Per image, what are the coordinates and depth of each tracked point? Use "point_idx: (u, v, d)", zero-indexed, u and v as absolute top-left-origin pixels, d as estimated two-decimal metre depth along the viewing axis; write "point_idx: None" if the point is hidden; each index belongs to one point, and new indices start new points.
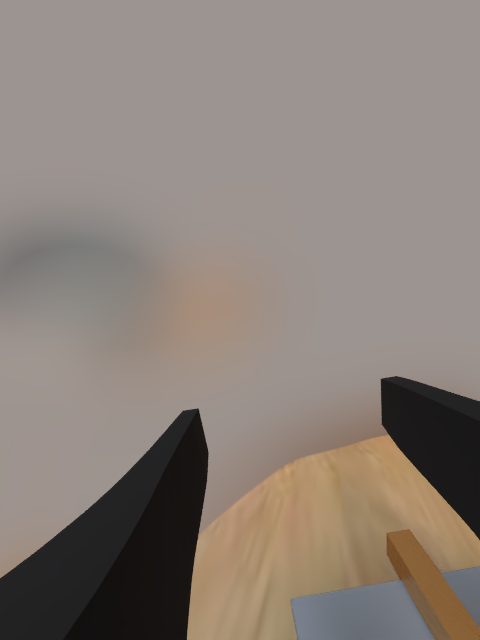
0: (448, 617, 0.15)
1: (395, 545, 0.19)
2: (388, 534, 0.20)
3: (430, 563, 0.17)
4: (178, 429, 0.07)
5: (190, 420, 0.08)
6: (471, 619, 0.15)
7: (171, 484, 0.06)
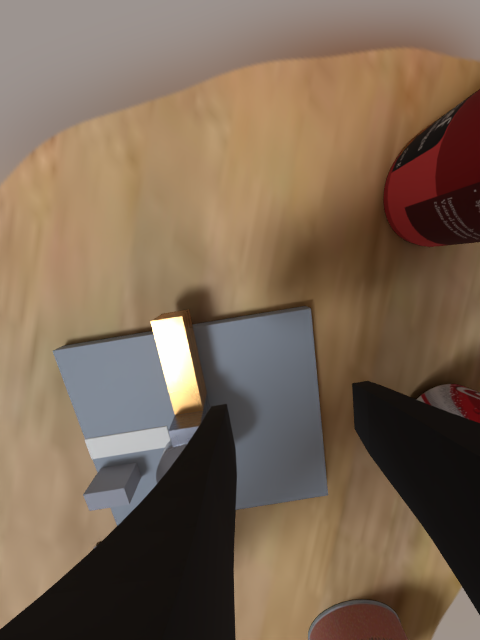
0: (177, 390, 0.16)
1: (155, 334, 0.15)
2: (152, 322, 0.14)
3: (186, 351, 0.15)
4: (213, 423, 0.07)
5: (223, 415, 0.08)
6: (197, 390, 0.16)
7: (215, 477, 0.06)
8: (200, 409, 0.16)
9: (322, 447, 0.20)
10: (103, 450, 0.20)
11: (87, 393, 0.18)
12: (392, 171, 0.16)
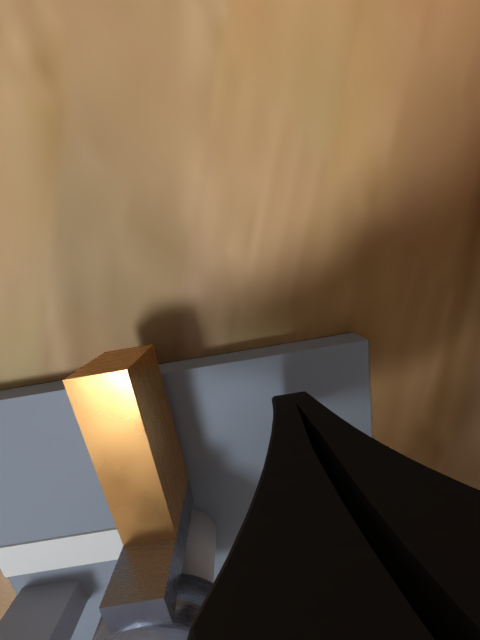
0: (126, 505, 0.08)
1: (75, 405, 0.07)
2: (66, 382, 0.07)
3: (139, 436, 0.07)
4: (289, 411, 0.07)
5: (294, 403, 0.08)
6: (163, 504, 0.08)
7: None
8: (171, 534, 0.08)
9: None
10: (22, 565, 0.12)
11: None
12: None
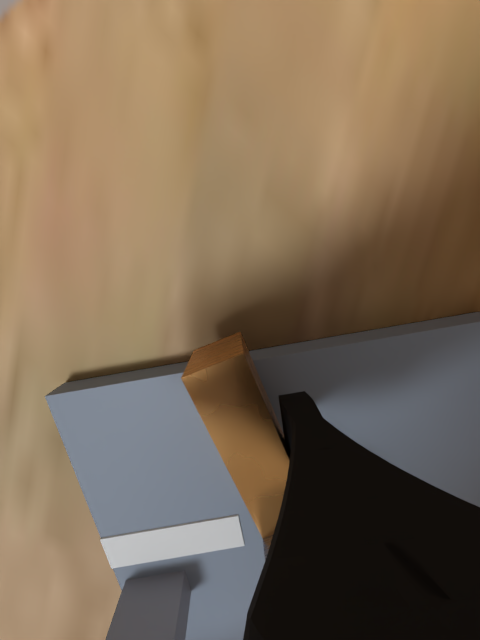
0: (260, 495, 0.08)
1: (197, 402, 0.07)
2: (185, 380, 0.07)
3: (264, 421, 0.07)
4: (308, 408, 0.07)
5: (312, 400, 0.08)
6: None
7: None
8: None
9: None
10: (130, 555, 0.12)
11: (106, 466, 0.11)
12: None
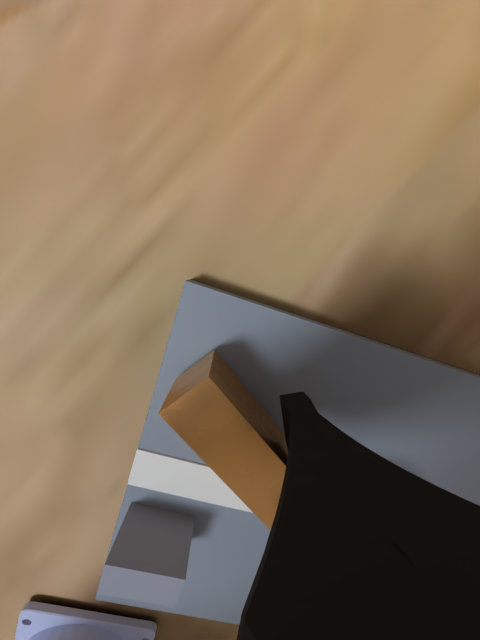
0: (267, 503, 0.08)
1: (180, 431, 0.07)
2: (162, 414, 0.07)
3: (249, 434, 0.07)
4: (306, 408, 0.07)
5: (310, 401, 0.08)
6: None
7: None
8: None
9: None
10: (155, 478, 0.11)
11: None
12: None
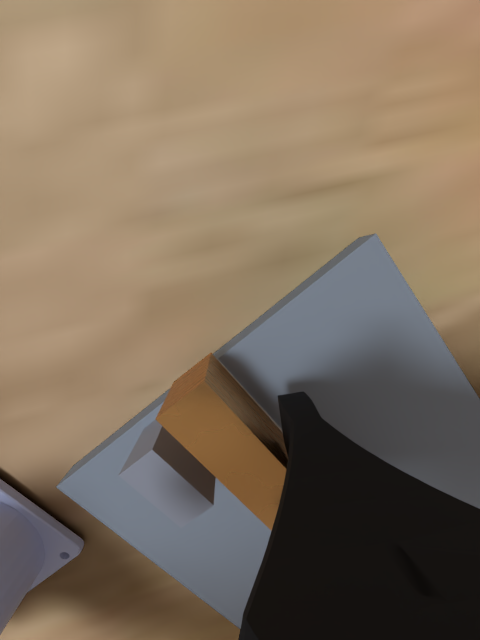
0: (267, 505, 0.08)
1: (177, 436, 0.07)
2: (159, 419, 0.07)
3: (246, 436, 0.07)
4: (306, 408, 0.07)
5: (310, 401, 0.08)
6: None
7: None
8: None
9: None
10: None
11: (315, 325, 0.10)
12: None
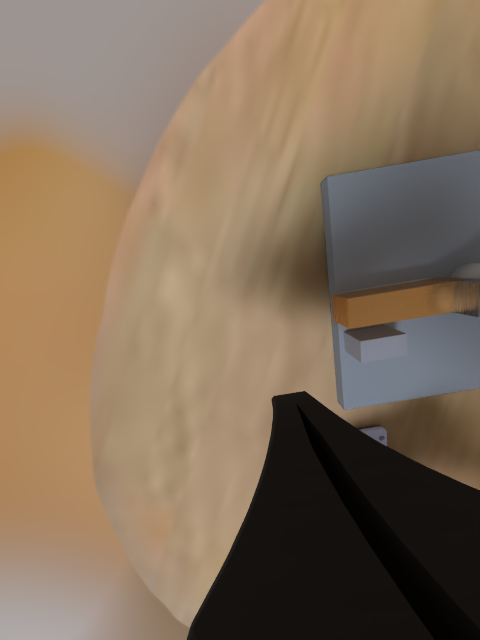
0: (425, 307, 0.15)
1: (362, 325, 0.15)
2: (350, 327, 0.15)
3: (384, 296, 0.14)
4: (289, 411, 0.07)
5: (294, 403, 0.08)
6: (429, 287, 0.14)
7: None
8: (452, 283, 0.14)
9: None
10: None
11: (352, 233, 0.16)
12: None
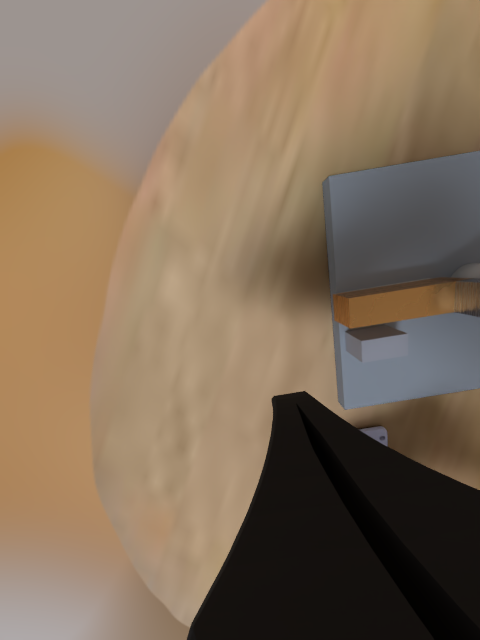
0: (426, 307, 0.15)
1: (364, 324, 0.15)
2: (351, 327, 0.15)
3: (385, 296, 0.14)
4: (289, 411, 0.07)
5: (294, 403, 0.08)
6: (430, 286, 0.14)
7: None
8: (453, 283, 0.14)
9: None
10: None
11: (353, 233, 0.16)
12: None
